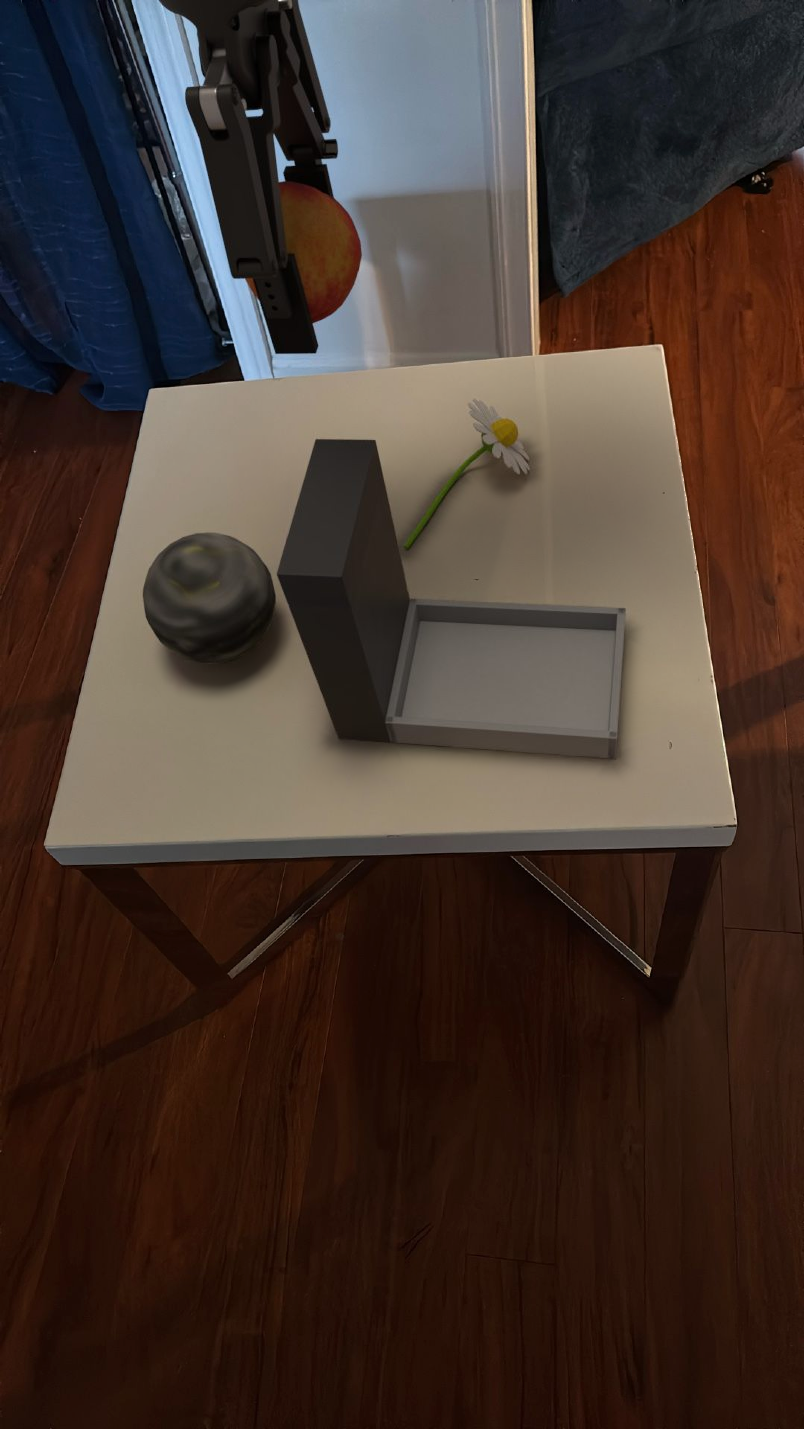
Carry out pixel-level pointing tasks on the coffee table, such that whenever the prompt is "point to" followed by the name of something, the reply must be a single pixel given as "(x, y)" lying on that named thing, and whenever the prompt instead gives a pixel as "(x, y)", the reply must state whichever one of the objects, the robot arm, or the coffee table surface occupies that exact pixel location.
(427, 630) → the tray with tall back
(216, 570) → the decorative stone
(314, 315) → the fruit
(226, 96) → the robot arm
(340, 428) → the coffee table surface
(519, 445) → the decorative flower
